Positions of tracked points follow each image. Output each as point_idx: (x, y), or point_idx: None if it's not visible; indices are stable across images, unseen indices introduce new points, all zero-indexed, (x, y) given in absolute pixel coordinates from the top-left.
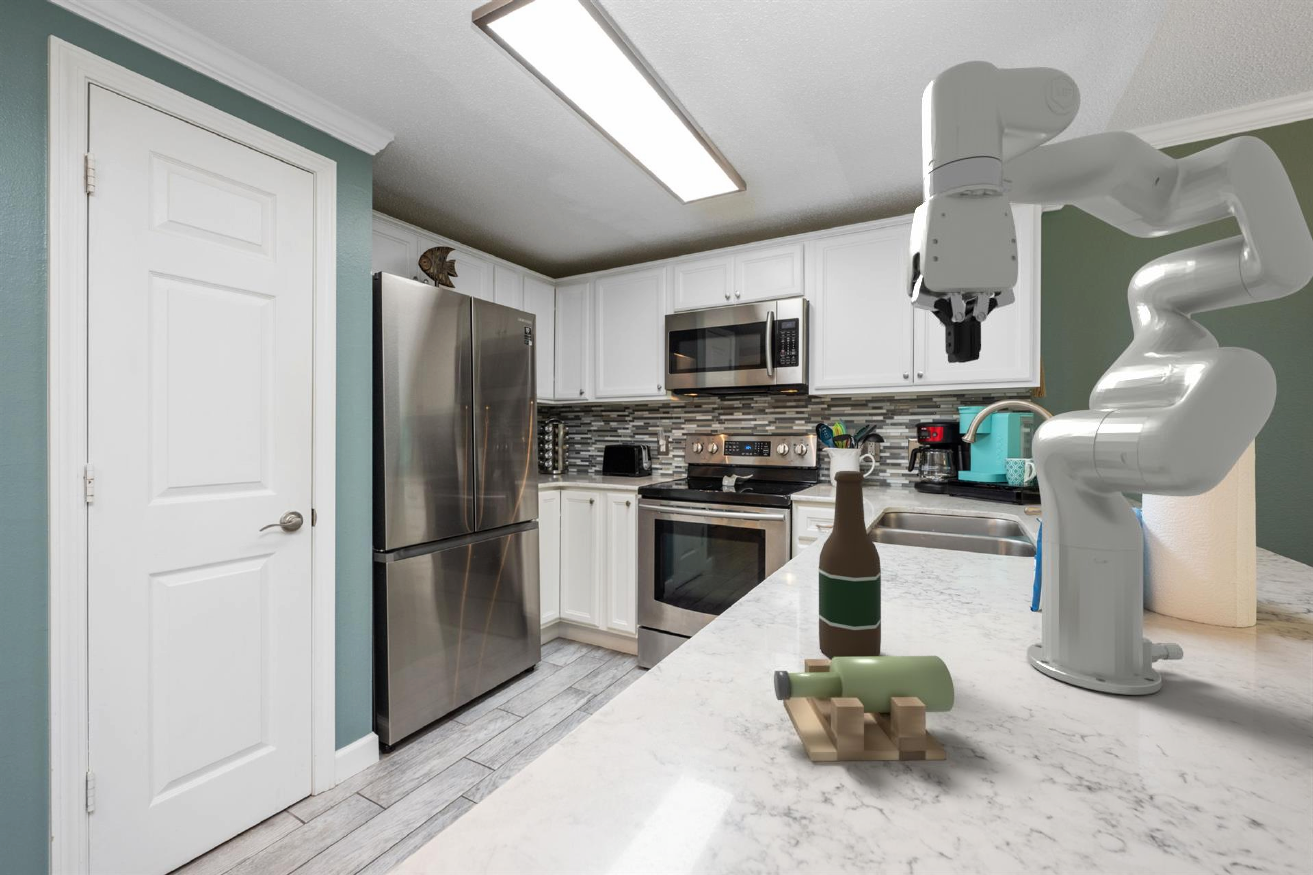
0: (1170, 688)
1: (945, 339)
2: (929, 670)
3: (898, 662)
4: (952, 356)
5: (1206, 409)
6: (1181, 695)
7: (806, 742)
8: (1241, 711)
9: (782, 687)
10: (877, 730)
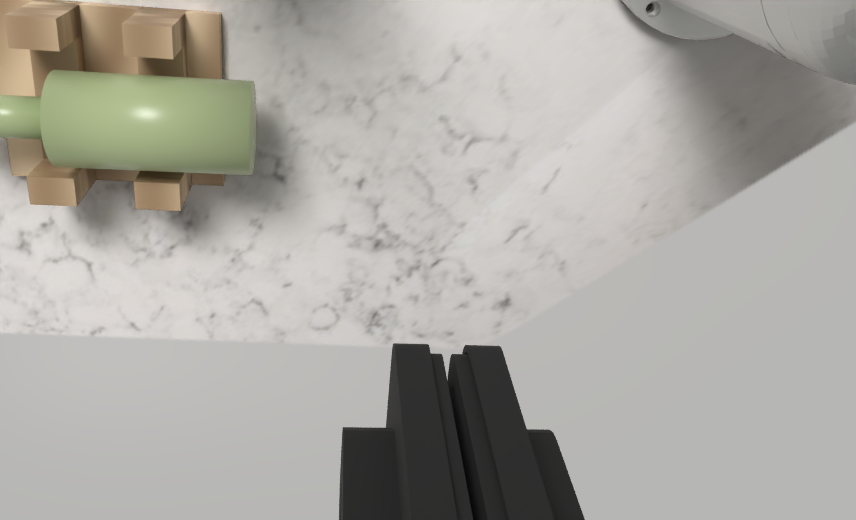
0: None
1: (343, 498)
2: (213, 167)
3: (159, 151)
4: (390, 411)
5: None
6: None
7: (8, 150)
8: (794, 95)
9: None
10: None
